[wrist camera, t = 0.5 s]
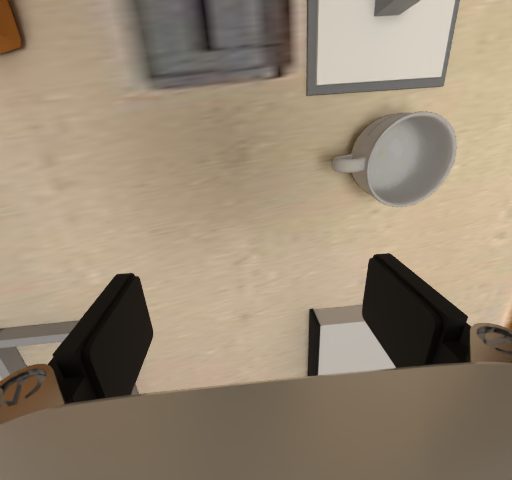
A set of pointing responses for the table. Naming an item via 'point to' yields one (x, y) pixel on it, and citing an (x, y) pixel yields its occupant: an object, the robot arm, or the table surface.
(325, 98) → the table surface
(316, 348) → the disc drive
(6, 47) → the coffee package
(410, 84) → the mat
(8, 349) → the grey tray
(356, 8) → the square lid with handle
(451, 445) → the robot arm
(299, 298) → the table surface
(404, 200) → the teacup
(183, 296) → the table surface
